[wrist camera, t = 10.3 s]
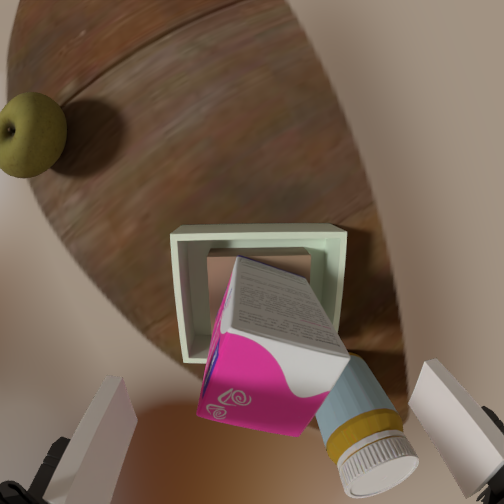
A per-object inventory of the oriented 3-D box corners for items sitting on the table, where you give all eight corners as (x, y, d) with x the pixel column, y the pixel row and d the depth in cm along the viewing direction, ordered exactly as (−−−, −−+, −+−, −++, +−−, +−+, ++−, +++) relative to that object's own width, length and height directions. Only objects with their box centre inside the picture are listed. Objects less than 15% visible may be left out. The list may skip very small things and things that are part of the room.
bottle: (365, 342, 28) (433, 439, 14) (363, 388, 30) (413, 481, 16) (303, 357, 28) (342, 473, 14) (307, 402, 30) (338, 508, 16)
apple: (71, 88, 21) (31, 69, 14) (89, 154, 23) (45, 149, 16) (21, 126, 21) (-22, 120, 14) (36, 190, 23) (-9, 196, 16)
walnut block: (210, 248, 25) (206, 257, 22) (303, 246, 25) (311, 255, 22) (214, 321, 26) (211, 337, 24) (299, 319, 27) (306, 334, 24)
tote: (181, 225, 25) (170, 234, 20) (329, 223, 25) (347, 231, 21) (190, 336, 27) (183, 362, 23) (321, 333, 28) (334, 357, 23)
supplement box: (234, 252, 22) (230, 323, 11) (306, 276, 23) (360, 357, 11) (211, 317, 23) (194, 419, 12) (279, 337, 24) (305, 440, 13)
